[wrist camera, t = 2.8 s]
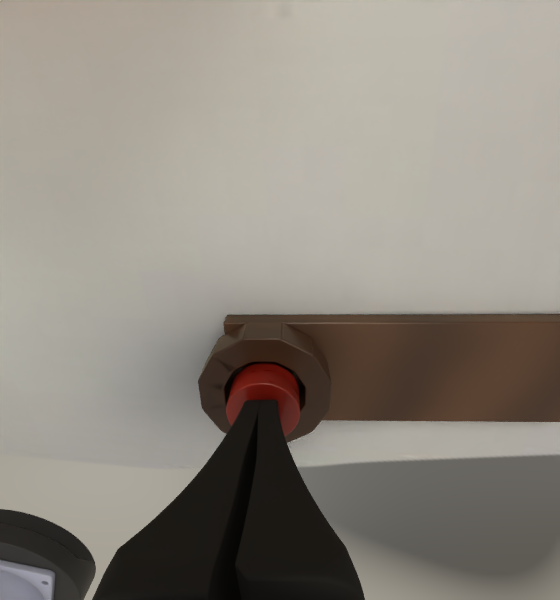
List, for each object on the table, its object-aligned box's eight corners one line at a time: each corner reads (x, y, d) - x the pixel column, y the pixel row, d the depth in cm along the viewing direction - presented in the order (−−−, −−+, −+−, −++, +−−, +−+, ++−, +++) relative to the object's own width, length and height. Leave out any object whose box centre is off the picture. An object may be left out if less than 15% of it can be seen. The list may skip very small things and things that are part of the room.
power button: (234, 416, 15) (228, 441, 14) (229, 361, 14) (222, 383, 13) (299, 416, 15) (299, 442, 14) (299, 362, 14) (300, 383, 13)
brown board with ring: (217, 409, 18) (206, 444, 16) (205, 313, 16) (191, 338, 13) (554, 411, 17) (595, 448, 15) (596, 312, 15) (651, 338, 13)
